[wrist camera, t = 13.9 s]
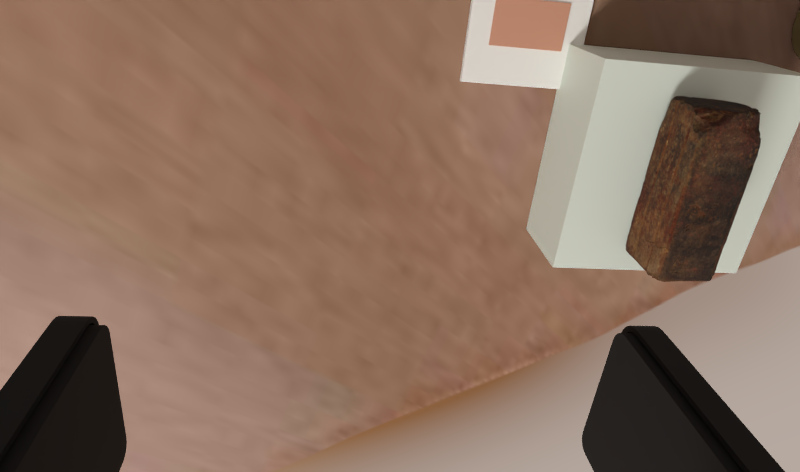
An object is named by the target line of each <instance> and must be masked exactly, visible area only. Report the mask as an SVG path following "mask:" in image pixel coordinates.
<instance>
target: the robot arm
mask: <svg viewBox="0 0 800 472" xmlns="http://www.w3.org/2000/svg"><path fill="white" fill-rule="evenodd" d="M126 443H127V441H126V433H125V426H124V420H123V414H122V408H121V401H120V395H119V389H118V382H117V376H116V370H115V363H114V357H113V351H112V344H111V338H110V332H109V329H108V327H107V326H105V325H99V324H98V321H97V319H96V318H95V317H84V316H58V317H56V318H55V319H54V320H53V321H52V322H51V323H50V325H49V326H48V327H47V329H46V330H45V331H44V333H43V334H42V335H41V337H40V338H39V339H38V341H37V342H36V343H35V345H34V346H33V347H32V349H31V350H30V351H29V353H28V354H27V355H26V357H25V358H24V360H23V361H22V362H21V364H20V365H19V366H18V368H17V369H16V370H15V372H14V373H13V374H12V376H11V377H10V378H9V380H8V381H7V382H6V384H5V385H4V386H3V388H2V389H1V390H0V472H119V470H120V468H121V466H122V463H123V460H124V457H125V453H126ZM582 443H583V449H584V452H585V454H586V456H587V458H588V460H589V462H590V464H591V466H592V468H593V470H594V472H785V471H784V470H783V469H782V468H781V467H780V466H779V464H778V463H777V462H776V461H775V460H774V459H773V458H772V457H771V455H770V454H769V453H768V452H767V451H766V449H765V448H764V447H763V446H762V445H761V444H760V443H759V442H758V440H757V439H756V438H755V437H754V436H753V434H752V433H751V432H750V431H749V430H748V429H747V428H746V426H745V425H744V424H743V423H742V422H741V421H740V420H739V418H738V417H737V416H736V415H735V414H734V413H733V411H732V410H731V409H730V408H729V407H728V406H727V404H726V403H725V402H724V401H723V400H722V399H721V398H720V396H719V395H718V394H717V393H716V392H715V391H714V390H713V388H712V387H711V386H710V385H709V384H708V383H707V382H706V380H705V379H704V378H703V377H702V376H701V375H700V374H699V372H698V371H697V370H696V369H695V368H694V366H693V365H692V364H691V363H690V362H689V361H688V360H687V358H686V357H685V356H684V355H683V354H682V353H681V351H680V350H679V349H678V348H677V347H676V346H675V345H674V343H673V342H672V341H671V340H670V339H669V338H668V336H667V335H666V334H665V333H664V332H663V331H662V330H661V329H660V328H658V327H655V326H627V327H625V328H624V329H623V331H622V333H619V334H617V335H616V336H615V337H614V340H613V343H612V345H611V348H610V351H609V355H608V358H607V361H606V364H605V367H604V370H603V373H602V376H601V379H600V382H599V385H598V388H597V391H596V394H595V397H594V401H593V403H592V406H591V409H590V413H589V416H588V419H587V422H586V425H585V428H584V431H583V435H582Z"/></svg>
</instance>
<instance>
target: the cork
mask: <svg viewBox="0 0 800 472" xmlns="http://www.w3.org/2000/svg"><path fill="white" fill-rule="evenodd" d="M792 44H793V48H794V52H795V53H796V55H797V56H798V57H799V58H800V10H799V11H798V14H797V16H796V19H795V22H794V25H793V30H792Z"/></svg>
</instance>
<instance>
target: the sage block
mask: <svg viewBox="0 0 800 472" xmlns="http://www.w3.org/2000/svg"><path fill="white" fill-rule="evenodd" d="M676 96H686V97H695V98H707V99H716V100H724V101H730V102H736V103H740V104H744V105H747V106H750V107H751V108H756V109H758V111H759V112H760V124H759V131H760V138H761V143H760V148H759V151H758V156H757V158H756V161H755V163H754V166H753V170H752V173H751V175H750V178H749V181H748V183H747V186H746V189H745V191H744V194H743V197H742V199H741V202H740V205H739V208H738V210H737V213H736V216H735V219H734V221H733V224H732V227H731V229H730V232H729V235H728V237H727V241H726V243H725V245H724V248H723V250H722V253H721V256H720V259H719V262H718V265H717V268H716V271H715V273H736V272H737V270H738V267H739V265H740V263H741V260H742V258H743V256H744V253H745V251H746V248H747V246H748V244H749V241H750V239H751V236H752V234H753V232H754V229H755V227H756V225H757V222H758V220H759V217H760V215H761V213H762V210H763V208H764V205H765V203H766V201H767V198H768V196H769V194H770V191H771V189H772V186H773V184H774V182H775V179H776V177H777V174H778V172H779V170H780V167H781V165H782V163H783V160H784V158H785V155H786V153H787V151H788V148H789V146H790V143H791V141H792V139H793V136H794V134H795V132H796V129H797V127H798V124H799V122H800V73H799V72H795V71H792V70H788V69H784V68H780V67H777V66H773V65H769V64H765V63H762V62H758V61H754V60H744V59H733V58H722V57H711V56H700V55H690V54H679V53H668V52H657V51H646V50H635V49H624V48H613V47H602V46H591V45H573V44H569V48H568V52H567V57H566V61H565V66H564V70H563V75H562V79H561V84H560V88H559V89H557V91H556V96H555V101H554V105H553V110H552V114H551V119H550V123H549V128H548V132H547V137H546V141H545V146H544V151H543V155H542V160H541V164H540V169H539V173H538V178H537V182H536V187H535V192H534V196H533V201H532V205H531V210H530V214H529V219H528V223H527V228H526V229H527V231H528V232H529V234H530V235H531V237H532V238H533V239H534V241H535V242H536V244H537V245H538V247H539V248H540V249H541V251H542V252H543V254H544V255H545V257H546V258H547V260H548V261H549V262H550V264H551V265H552V267H559V268H590V269H621V270H644V269H643V268H642V267H641V266H640V265H639V264H638V263H637V261H636V260H634V258H633V257H631V256H630V255H629V253H628V252H627V251H626V242H627V237H628V234H629V231H630V227H631V222H632V219H633V215H634V212H635V208H636V205H637V202H638V199H639V197H640V194H641V190H642V186H643V182H644V181H645V175H646V172H647V168H648V165H649V161H650V158H651V155H652V151H653V148H654V145H655V141H656V138H657V135H658V131H659V129H660V126H661V124H662V122H663V120H664V117H665V115H666V112H667V109H668V106H669V104H670V102H671V100H672V99H673V98H674V97H676Z"/></svg>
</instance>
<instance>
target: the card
mask: <svg viewBox="0 0 800 472" xmlns="http://www.w3.org/2000/svg"><path fill="white" fill-rule="evenodd" d="M593 2H594V0H471V5H470V12H469V19H468V26H467V33H466V40H465V47H464V54H463V61H462V68H461V75H460V81H462V82H474V83H487V84H499V85H512V86H525V87H537V88H550V89H559V88H560V84H561V79H562V75H563V70H564V66H565V61H566V57H567V52H568V48H569V44H573V45H584V41H585V36H586V32H587V28H588V23H589V19H590V15H591V11H592V6H593Z"/></svg>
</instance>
